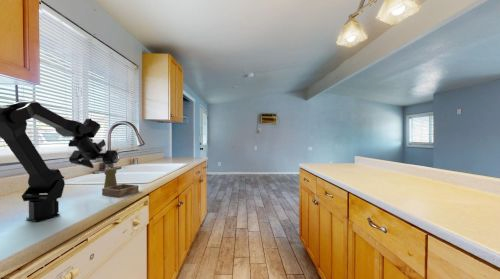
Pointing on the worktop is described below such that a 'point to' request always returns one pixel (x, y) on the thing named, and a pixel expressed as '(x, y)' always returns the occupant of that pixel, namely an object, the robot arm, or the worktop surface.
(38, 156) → the robot arm
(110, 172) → the cork
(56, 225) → the worktop surface
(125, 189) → the slot holder
